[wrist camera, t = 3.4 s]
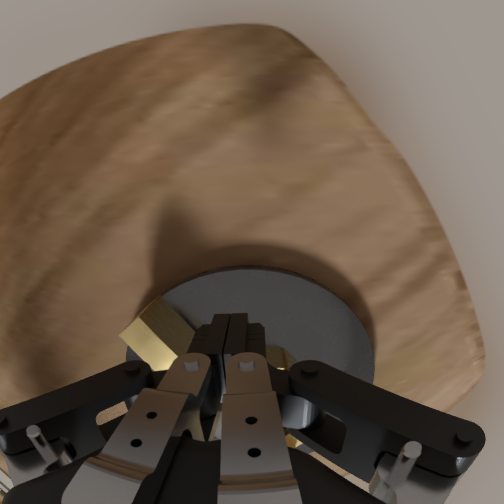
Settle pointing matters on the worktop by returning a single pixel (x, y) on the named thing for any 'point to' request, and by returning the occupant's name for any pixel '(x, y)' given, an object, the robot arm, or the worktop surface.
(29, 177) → the worktop surface
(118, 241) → the worktop surface
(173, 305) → the flange
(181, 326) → the tan curved piece
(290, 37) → the worktop surface
